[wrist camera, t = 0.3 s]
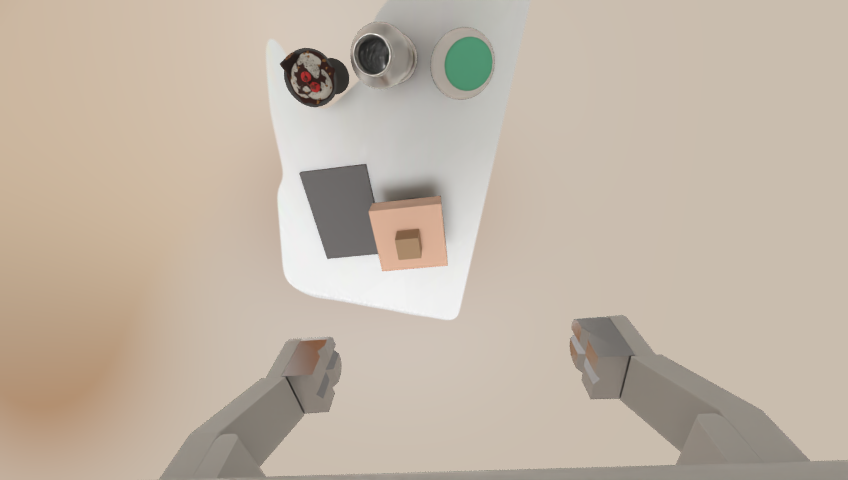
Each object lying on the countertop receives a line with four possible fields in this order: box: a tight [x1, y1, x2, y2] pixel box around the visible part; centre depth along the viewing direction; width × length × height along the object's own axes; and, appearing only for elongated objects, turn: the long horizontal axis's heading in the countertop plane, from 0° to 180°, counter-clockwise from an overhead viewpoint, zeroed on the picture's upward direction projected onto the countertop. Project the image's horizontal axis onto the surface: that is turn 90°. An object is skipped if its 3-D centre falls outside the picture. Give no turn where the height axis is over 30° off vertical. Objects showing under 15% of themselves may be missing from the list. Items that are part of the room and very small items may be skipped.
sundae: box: [280, 48, 349, 107], centre depth 42 cm, size 7×7×15 cm
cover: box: [369, 196, 448, 271], centre depth 50 cm, size 11×11×6 cm
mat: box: [299, 164, 378, 259], centre depth 60 cm, size 18×12×1 cm, turn 7°
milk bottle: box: [431, 27, 495, 100], centre depth 39 cm, size 8×8×20 cm
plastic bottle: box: [351, 22, 417, 89], centre depth 38 cm, size 6×7×20 cm
